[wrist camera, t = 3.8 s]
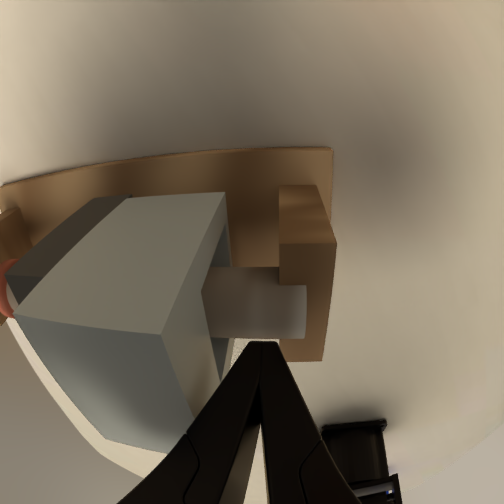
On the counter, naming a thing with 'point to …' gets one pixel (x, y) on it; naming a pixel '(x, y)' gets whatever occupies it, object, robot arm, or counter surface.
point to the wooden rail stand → (240, 232)
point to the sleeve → (136, 318)
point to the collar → (58, 245)
